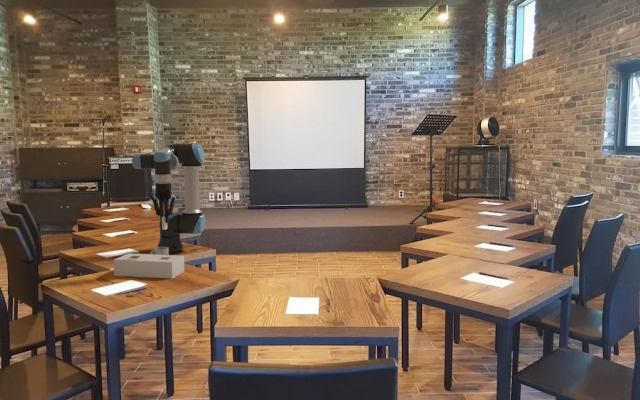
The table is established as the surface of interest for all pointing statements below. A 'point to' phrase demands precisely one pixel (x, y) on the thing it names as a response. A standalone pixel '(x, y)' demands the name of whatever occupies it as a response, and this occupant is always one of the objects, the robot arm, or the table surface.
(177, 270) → the grey rectangular block
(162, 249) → the cup
